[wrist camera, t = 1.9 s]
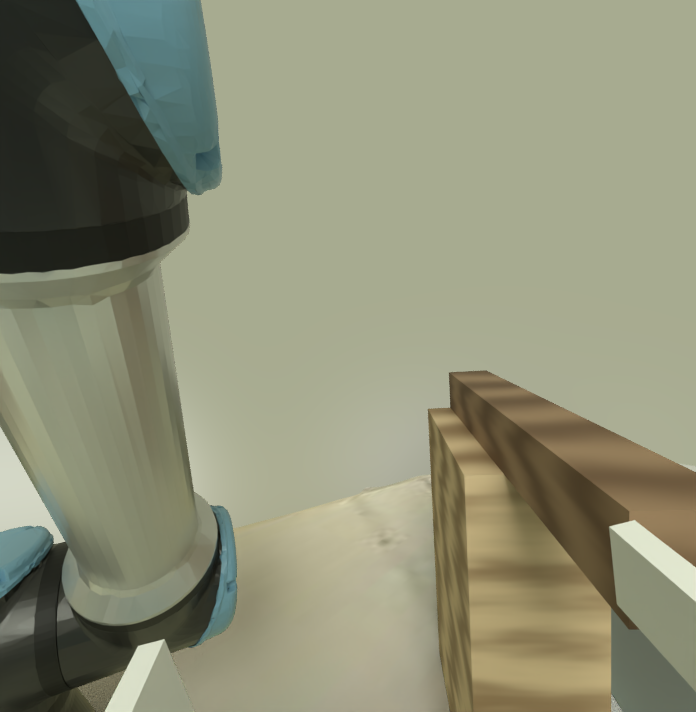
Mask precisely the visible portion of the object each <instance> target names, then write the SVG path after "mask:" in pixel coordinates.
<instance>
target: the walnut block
mask: <svg viewBox="0 0 696 712" xmlns="http://www.w3.org/2000/svg"><path fill="white" fill-rule="evenodd" d="M449 384H450V408H451V409H452V410H453V412H454V413H455V414H456V415H457V417H458V418H459V419H460V420H461V421H462V423H463V424H464V425H465V426H466V428H467V429H468V430H469V431H470V433H471V434H472V435H473V436H474V438H475V439H476V440H477V441H478V443H479V444H480V445H481V446H482V448H483V449H484V450H485V451H486V453H487V454H488V455H489V456H490V458H491V459H492V460H493V461H494V463H495V464H496V465H497V466H498V468H499V469H500V470H501V471H502V472H503V474H504V475H505V476H506V477H507V479H508V480H509V481H510V482H511V484H512V485H513V486H514V487H515V489H516V490H517V491H518V492H519V494H520V495H521V496H522V497H523V499H524V500H525V501H526V502H527V504H528V505H529V506H530V507H531V509H532V510H533V511H534V512H535V514H536V515H537V516H538V517H539V519H540V520H541V521H542V522H543V523H544V525H545V526H546V527H547V528H548V530H549V531H550V532H551V533H552V535H553V536H554V537H555V538H556V540H557V541H558V542H559V543H560V545H561V546H562V547H563V548H564V550H565V551H566V552H567V553H568V555H569V556H570V557H571V558H572V560H573V561H574V562H575V563H576V565H577V566H578V567H579V568H580V569H581V571H582V572H583V573H584V574H585V576H586V577H587V578H588V579H589V581H590V582H591V583H592V584H593V586H594V587H595V588H596V589H597V591H598V592H599V593H600V594H601V596H602V597H603V598H604V599H605V601H606V602H607V603H608V604H609V606H610V607H611V608H612V609H613V611H614V612H615V613H616V614H617V616H618V617H619V618H620V619H621V620H622V622H623V623H624V624H625V625H626V627H627V628H628V629H629V630H640V629H639V628H638V627H637V626H636V625H635V624H634V623H633V622H632V620H631V619H630V618H629V617H628V616H627V615H626V614H625V613H624V612H623V610H622V609H621V608H620V607H619V606H618V605H617V600H616V590H615V581H614V571H613V561H612V551H611V541H610V531H609V526H613V525H617V524H621V523H625V522H629V521H633V520H635V521H636V522H638V523H639V524H640V525H642V526H643V527H644V528H645V529H647V530H648V531H649V532H651V533H652V534H653V535H654V536H656V537H657V538H658V539H660V540H661V541H662V542H664V543H665V544H666V545H667V546H669V547H670V548H671V549H673V550H674V551H675V552H676V553H678V554H679V555H680V556H682V557H683V558H684V559H685V560H687V561H688V562H689V563H691V564H692V565H693V566H694V567H696V472H694V471H692V470H690V469H688V468H686V467H684V466H682V465H679V464H677V463H675V462H673V461H671V460H669V459H667V458H665V457H663V456H661V455H659V454H657V453H655V452H653V451H650V450H648V449H647V448H644V447H642V446H640V445H638V444H636V443H634V442H632V441H630V440H628V439H626V438H624V437H622V436H620V435H618V434H616V433H614V432H611V431H609V430H607V429H605V428H603V427H601V426H599V425H597V424H595V423H593V422H591V421H589V420H586V419H584V418H582V417H580V416H578V415H576V414H574V413H572V412H570V411H568V410H566V409H564V408H562V407H560V406H558V405H556V404H554V403H552V402H550V401H548V400H546V399H544V398H541V397H539V396H537V395H535V394H533V393H531V392H529V391H527V390H525V389H523V388H521V387H519V386H517V385H514V384H513V383H510V382H509V381H506V380H504V379H502V378H500V377H498V376H496V375H494V374H492V373H490V372H488V371H468V372H451V373H449Z"/></svg>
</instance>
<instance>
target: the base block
mask: <svg viewBox="0 0 696 712" xmlns="http://www.w3.org/2000/svg"><path fill="white" fill-rule="evenodd" d="M611 693H612V694H613V696H614V698H615V699H616V701H617V702H618V704H619V706H620V707H621V709H622V711H623V712H696V692H695V690H694V689H693V688H692V687H691V686H690V685H689V684H688V683H687V682H686V680H685V679H684V678H683V677H682V676H681V675H680V674H679V673H678V672H677V670H676V669H675V668H674V667H673V666H672V665H671V664H670V663H669V662H668V660H667V659H666V658H665V657H664V656H663V655H662V654H661V653H660V652H659V650H658V649H657V648H656V647H655V646H654V645H653V644H652V643H651V642H650V640H649V639H648V638H647V637H646V636H645V635H644V634H643V633H642V632H641V630H629V629H628V628H627V627H626V625H625V624H624V623H623V622H622V620H621V619H620V618H619V617H618V616H617V614H616V613H615V612H614V611H613V609H612V608H611Z"/></svg>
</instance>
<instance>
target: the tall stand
mask: <svg viewBox="0 0 696 712" xmlns="http://www.w3.org/2000/svg"><path fill="white" fill-rule="evenodd" d="M428 420H429V443H430V462H431V485H432V506H433V527H434V548H435V569H436V590H437V611H438V632H439V653H440V658H441V664H442V669H443V675H444V680H445V686H446V691H447V697H448V702H449V708H450V712H611V607H610V606H609V604H608V603H607V602H606V601H605V599H604V598H603V597H602V596H601V594H600V593H599V592H598V591H597V589H596V588H595V587H594V586H593V584H592V583H591V582H590V581H589V579H588V578H587V577H586V576H585V574H584V573H583V572H582V571H581V569H580V568H579V567H578V566H577V565H576V563H575V562H574V561H573V560H572V558H571V557H570V556H569V555H568V553H567V552H566V551H565V550H564V548H563V547H562V546H561V545H560V543H559V542H558V541H557V540H556V538H555V537H554V536H553V535H552V533H551V532H550V531H549V530H548V528H547V527H546V526H545V525H544V523H543V522H542V521H541V520H540V519H539V517H538V516H537V515H536V514H535V512H534V511H533V510H532V509H531V507H530V506H529V505H528V504H527V502H526V501H525V500H524V499H523V497H522V496H521V495H520V494H519V492H518V491H517V490H516V489H515V487H514V486H513V485H512V484H511V482H510V481H509V480H508V479H507V477H506V476H505V475H504V474H503V472H502V471H501V470H500V469H499V468H498V466H497V465H496V464H495V463H494V461H493V460H492V459H491V458H490V456H489V455H488V454H487V453H486V451H485V450H484V449H483V448H482V446H481V445H480V444H479V443H478V441H477V440H476V439H475V438H474V436H473V435H472V434H471V433H470V431H469V430H468V429H467V428H466V426H465V425H464V424H463V423H462V421H461V420H460V419H459V418H458V417H457V415H456V414H455V413H454V412H453V410H452V409H451V408H437V409H436V408H435V409H428Z"/></svg>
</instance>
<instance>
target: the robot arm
mask: <svg viewBox="0 0 696 712" xmlns="http://www.w3.org/2000/svg"><path fill="white" fill-rule="evenodd" d="M221 177H222V164H221V157H220V148H219V136H218V116H217V108H216V100H215V93H214V86H213V78H212V71H211V64H210V57H209V51H208V45H207V37H206V31H205V25H204V19H203V12H202V7H201V1H200V0H0V427H1V428H2V430H3V432H4V434H5V436H6V437H7V439H8V440H9V443H10V444H11V446H12V448H13V450H14V451H15V453H16V455H17V457H18V458H19V460H20V462H21V464H22V466H23V467H24V469H25V471H26V473H27V474H28V476H29V478H30V480H31V481H32V483H33V485H34V487H35V488H36V490H37V492H38V494H39V496H40V497H41V499H42V501H43V503H44V504H45V506H46V508H47V510H48V511H49V513H50V515H51V517H52V519H53V520H54V522H55V524H56V526H57V527H58V529H59V531H60V533H61V534H62V536H63V538H64V540H65V542H63V543H58V544H53V543H54V542H53V535H52V534H50V532H49V531H48V530H47V529H46V528H44V527H42V526H36V527H32V526H24V527H18V528H14V529H10V530H6V531H3V532H0V712H96V711H95V710H94V708H93V707H92V706H91V705H90V703H89V702H88V701H87V699H86V698H85V697H84V696H83V694H82V693H81V692H80V690H79V689H78V688H77V687H79V686H82V685H85V684H88V683H90V682H93V681H96V680H99V679H101V678H104V677H107V676H110V675H112V674H115V673H118V672H121V671H123V670H126V671H125V673H124V675H123V676H122V678H121V680H120V682H119V684H118V686H117V688H116V690H115V692H114V694H113V696H112V698H111V700H110V702H109V704H108V706H107V708H106V710H105V712H195V710H194V708H193V706H192V703H191V701H190V699H189V696H188V694H187V691H186V689H185V687H184V684H183V682H182V680H181V677H180V675H179V672H178V670H177V668H176V665H175V663H174V661H173V658H172V656H171V654H170V653H173V652H176V651H178V650H181V649H184V648H187V647H189V648H192V647H195V646H198V645H200V644H202V643H203V642H204V641H205V640H207V639H209V638H212V637H214V636H216V635H219V634H221V633H222V632H224V631H225V630H226V629H227V628H228V627H229V625H230V624H231V622H232V620H233V617H234V614H235V609H236V602H237V584H236V577H237V559H236V547H235V539H234V532H233V527H232V522H231V518H230V515H229V513H228V511H227V510H226V509H225V508H224V507H223V506H212V505H209V504H208V503H207V502H206V501H205V499H203V498H202V497H201V496H200V495H198V494H197V493H195V492H194V490H193V484H192V477H191V469H190V463H189V457H188V449H187V443H186V436H185V429H184V422H183V416H182V409H181V402H180V396H179V389H178V381H177V375H176V368H175V361H174V355H173V348H172V341H171V334H170V327H169V320H168V314H167V307H166V300H165V293H164V287H163V280H162V273H161V267H160V263H161V261H162V260H163V259H165V258H166V257H167V256H168V255H169V254H170V253H171V252H172V251H173V250H174V249H175V248H176V247H177V246H178V245H179V244H180V243H181V242H182V241H183V240H185V238H186V236H187V235H188V234H189V228H190V224H189V223H190V222H189V215H188V203H187V191H189V192H190V193H191V194H195V195H201V194H203V192H204V191H207V190H211V189H215V188H216V187H218V186H219V185H220V182H221ZM609 531H610V541H611V551H612V561H613V571H614V581H615V590H616V600H617V605H618V606H619V607H620V608H621V609H622V610H623V612H624V613H625V614H626V615H627V616H628V617H629V618H630V619H631V620H632V622H633V623H634V624H635V625H636V626H637V627H638V628H639V629H640V630H641V632H642V633H643V634H644V635H645V636H646V637H647V638H648V639H649V640H650V642H651V643H652V644H653V645H654V646H655V647H656V648H657V649H658V650H659V652H660V653H661V654H662V655H663V656H664V657H665V658H666V659H667V660H668V662H669V663H670V664H671V665H672V666H673V667H674V668H675V669H676V670H677V672H678V673H679V674H680V675H681V676H682V677H683V678H684V679H685V680H686V682H687V683H688V684H689V685H690V686H691V687H692V688H693V689H694V690H695V692H696V567H694V566H693V565H692V564H691V563H689V562H688V561H687V560H685V559H684V558H683V557H682V556H680V555H679V554H678V553H676V552H675V551H674V550H673V549H671V548H670V547H669V546H667V545H666V544H665V543H664V542H662V541H661V540H660V539H658V538H657V537H656V536H654V535H653V534H652V533H651V532H649V531H648V530H647V529H645V528H644V527H643V526H642V525H640V524H639V523H638V522H636V521H635V520H633V521H629V522H625V523H621V524H617V525H613V526H609Z"/></svg>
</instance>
